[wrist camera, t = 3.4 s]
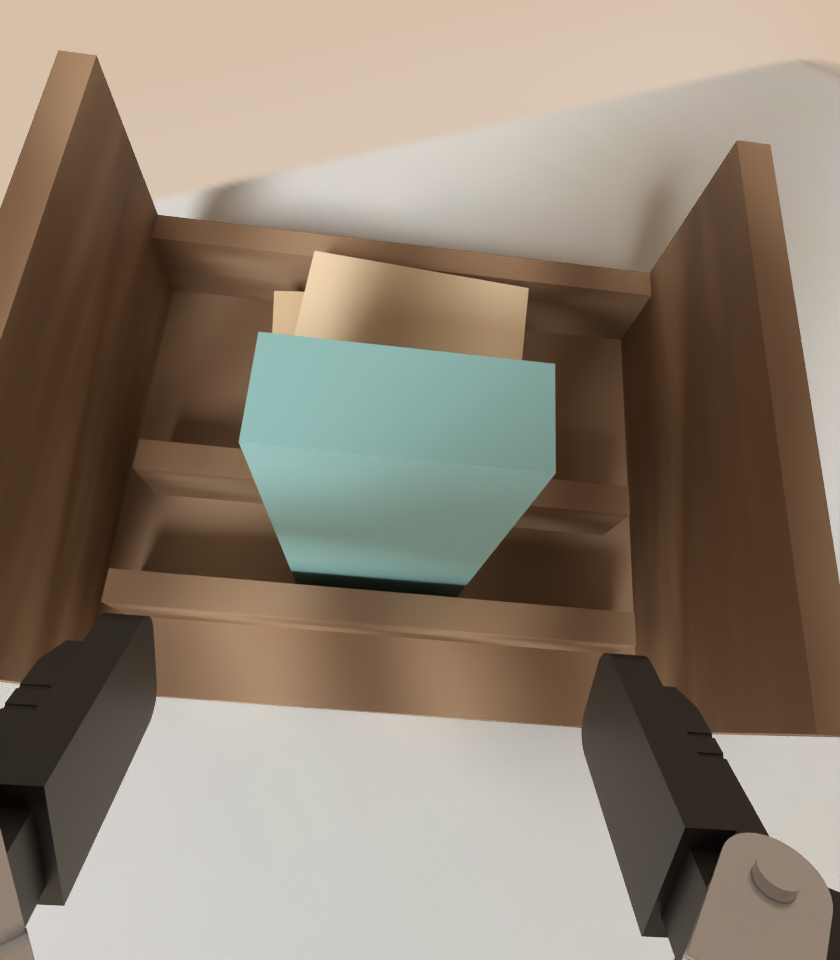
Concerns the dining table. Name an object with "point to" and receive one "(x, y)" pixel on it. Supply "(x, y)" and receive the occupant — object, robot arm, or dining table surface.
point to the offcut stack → (403, 308)
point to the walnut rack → (524, 550)
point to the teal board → (394, 458)
